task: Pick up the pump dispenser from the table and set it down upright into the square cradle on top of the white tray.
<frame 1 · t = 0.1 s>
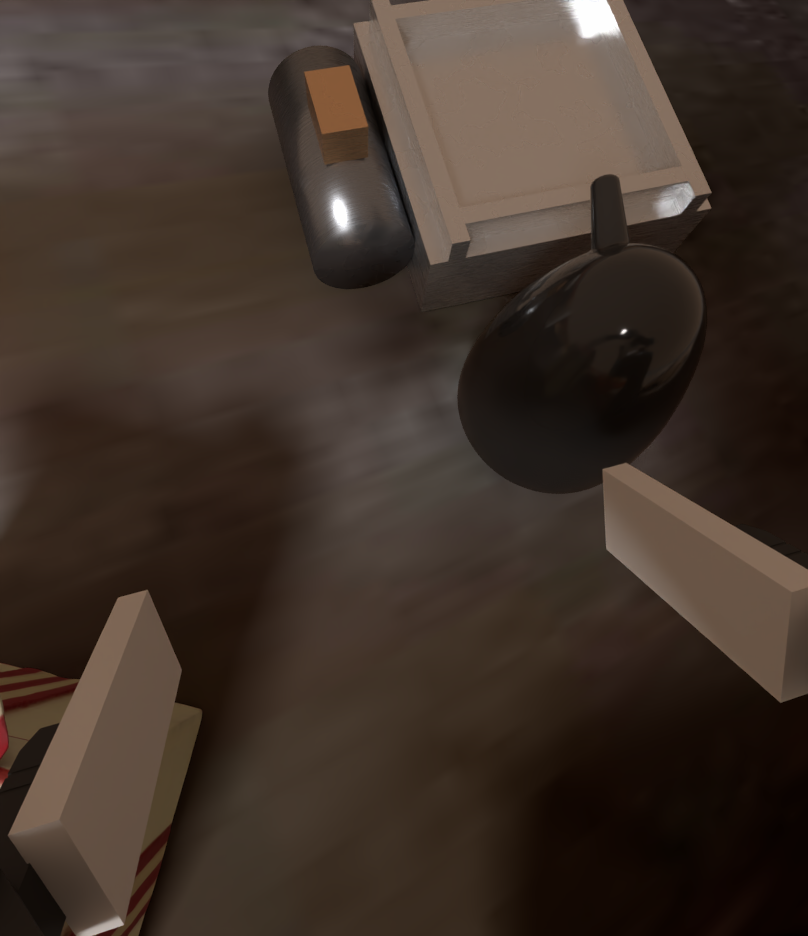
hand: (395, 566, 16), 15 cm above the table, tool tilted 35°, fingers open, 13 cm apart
gift box: (13, 795, 27), on the table
white tray: (507, 176, 38), on the table
pump dispenser: (529, 422, 34), on the table
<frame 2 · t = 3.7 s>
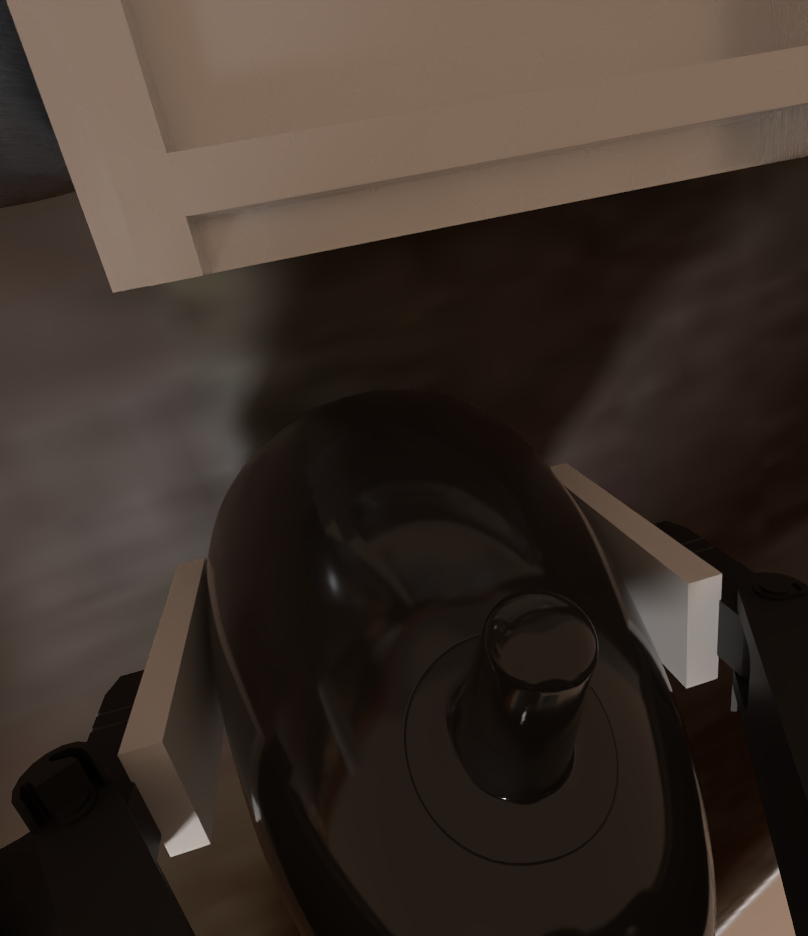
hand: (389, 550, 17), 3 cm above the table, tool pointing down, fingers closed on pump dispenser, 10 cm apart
pump dispenser: (371, 503, 20), on the table, touching gripper
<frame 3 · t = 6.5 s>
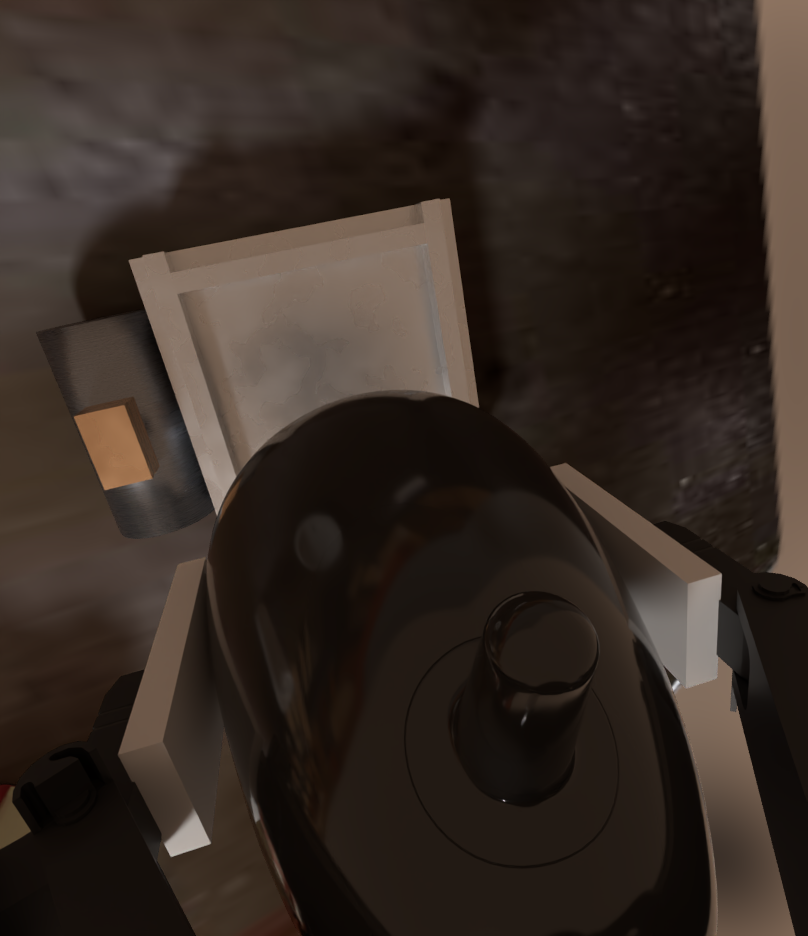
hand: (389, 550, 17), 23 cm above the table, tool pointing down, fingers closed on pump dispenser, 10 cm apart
white tray: (325, 370, 37), on the table
pump dispenser: (371, 504, 20), point 19 cm above the table, touching gripper
when the fingers open (10 cm above the table, at t = 9.8 s): pump dispenser drops 2 cm, resting on white tray.
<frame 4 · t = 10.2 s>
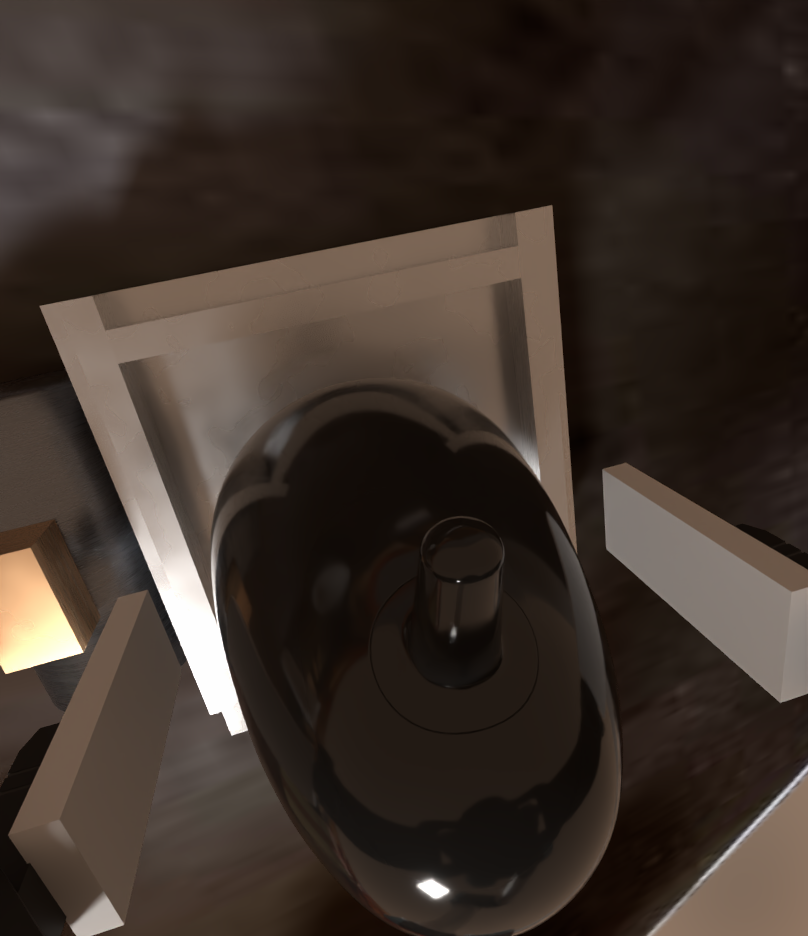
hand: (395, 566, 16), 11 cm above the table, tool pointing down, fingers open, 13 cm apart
white tray: (348, 445, 26), on the table
pump dispenser: (360, 485, 22), point 5 cm above the table, touching white tray
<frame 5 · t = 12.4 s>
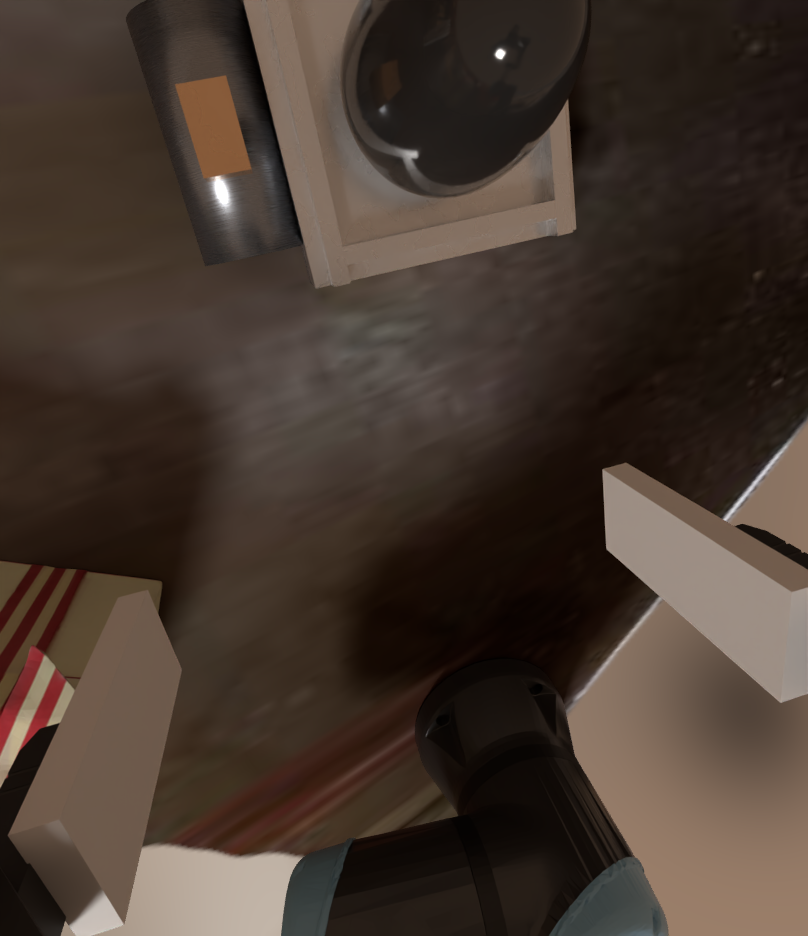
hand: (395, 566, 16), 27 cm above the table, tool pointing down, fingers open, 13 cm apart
gift box: (46, 627, 44), on the table
white tray: (406, 116, 36), on the table
pump dispenser: (422, 100, 32), point 5 cm above the table, touching white tray
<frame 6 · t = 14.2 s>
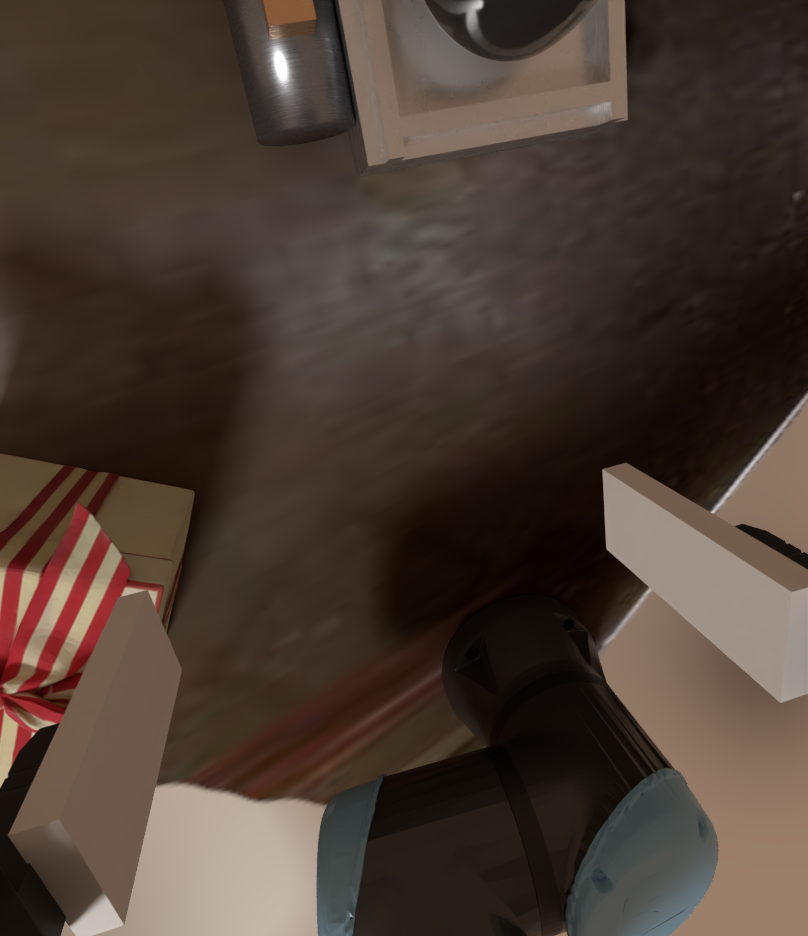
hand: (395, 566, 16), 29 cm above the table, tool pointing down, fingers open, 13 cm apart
gift box: (75, 535, 43), on the table
white tray: (458, 7, 36), on the table
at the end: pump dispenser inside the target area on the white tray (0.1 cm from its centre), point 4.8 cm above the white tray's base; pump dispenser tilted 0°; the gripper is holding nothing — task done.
